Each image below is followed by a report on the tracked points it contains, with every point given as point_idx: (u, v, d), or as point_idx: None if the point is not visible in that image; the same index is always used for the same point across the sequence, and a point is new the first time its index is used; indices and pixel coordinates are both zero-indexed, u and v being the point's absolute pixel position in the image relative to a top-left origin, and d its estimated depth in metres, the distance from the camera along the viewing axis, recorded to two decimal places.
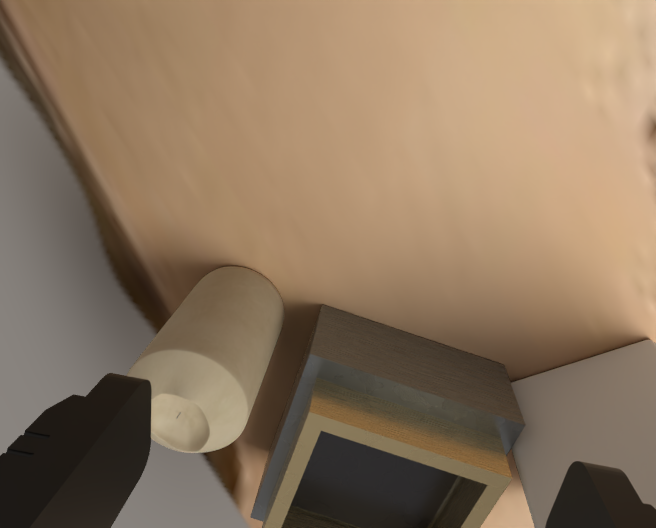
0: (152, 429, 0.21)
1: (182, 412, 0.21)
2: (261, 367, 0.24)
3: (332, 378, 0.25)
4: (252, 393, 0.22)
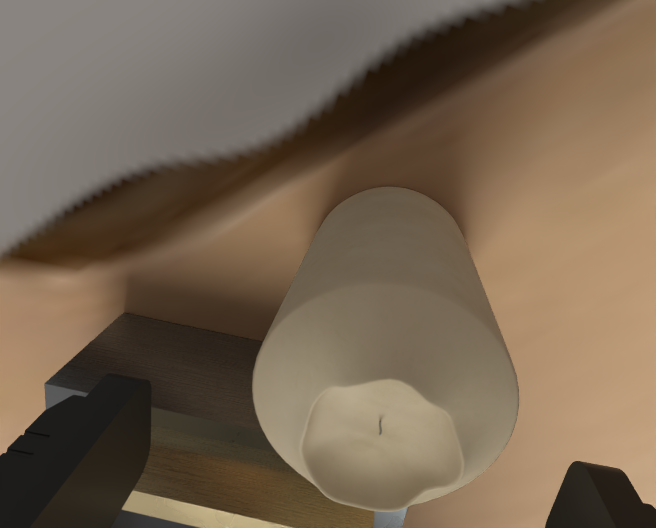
0: None
1: (381, 425, 0.10)
2: None
3: None
4: None
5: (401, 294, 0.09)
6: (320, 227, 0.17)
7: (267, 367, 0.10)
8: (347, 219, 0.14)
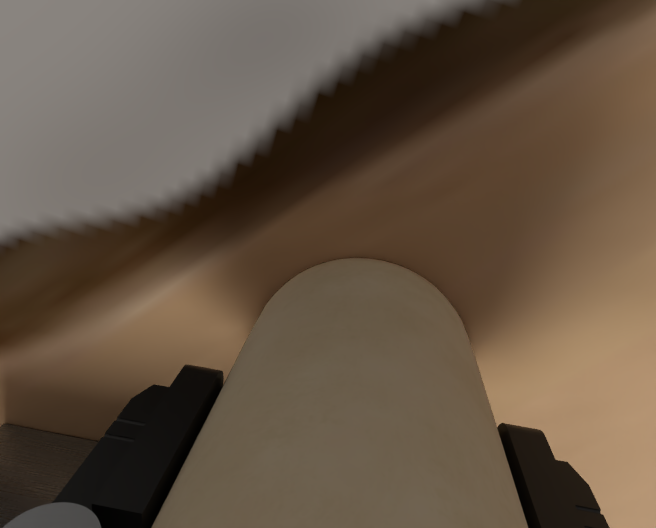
0: None
1: None
2: None
3: None
4: None
5: None
6: (255, 325, 0.11)
7: None
8: (282, 337, 0.09)
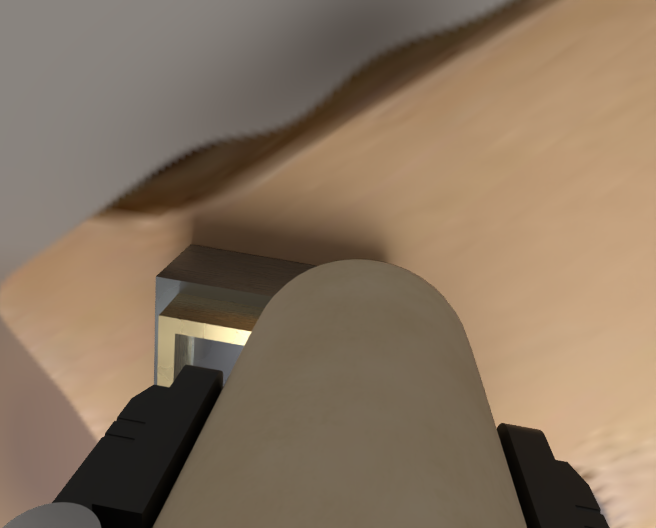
0: None
1: None
2: None
3: None
4: None
5: None
6: (255, 326, 0.11)
7: None
8: (282, 338, 0.09)
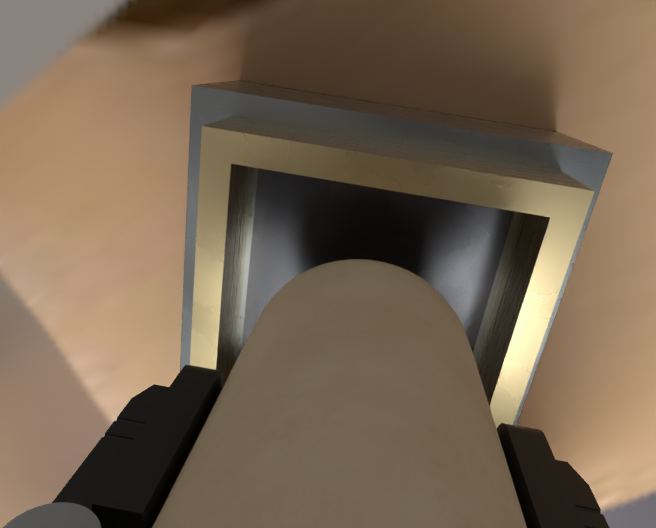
0: None
1: None
2: None
3: None
4: None
5: None
6: (254, 326, 0.11)
7: None
8: (282, 338, 0.09)
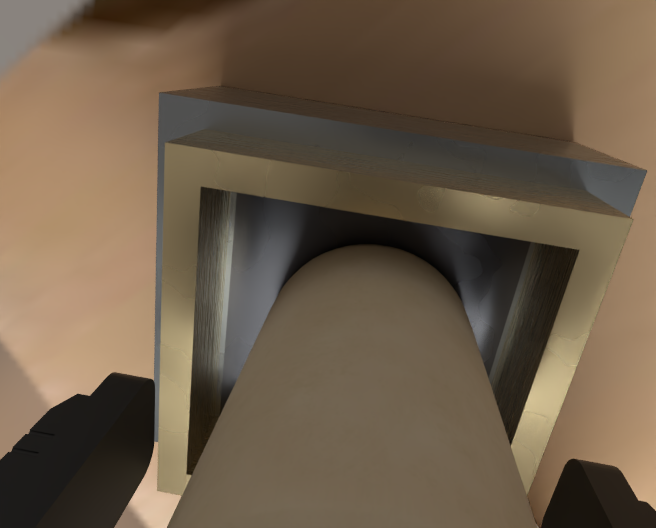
0: None
1: None
2: None
3: None
4: None
5: None
6: (273, 305, 0.12)
7: None
8: (302, 310, 0.10)
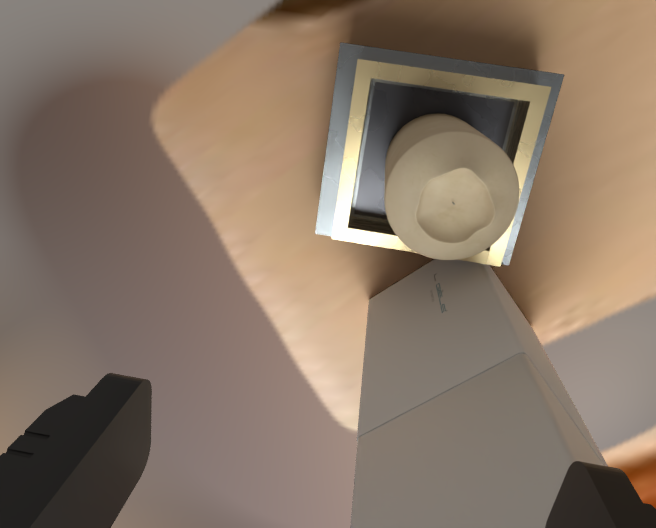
0: (433, 179, 0.20)
1: (453, 203, 0.21)
2: None
3: None
4: None
5: (462, 135, 0.20)
6: (394, 138, 0.27)
7: (395, 180, 0.21)
8: (417, 124, 0.25)
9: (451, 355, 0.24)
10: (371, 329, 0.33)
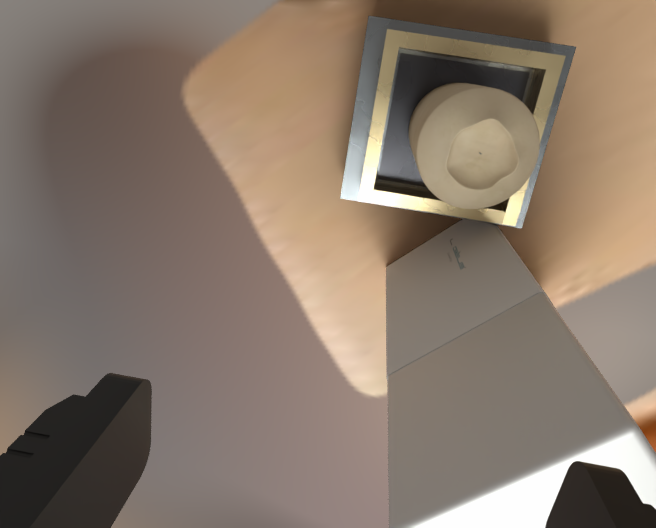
0: (463, 130, 0.22)
1: (480, 154, 0.23)
2: None
3: None
4: None
5: (488, 91, 0.22)
6: (418, 105, 0.29)
7: (427, 133, 0.23)
8: (442, 89, 0.27)
9: (473, 302, 0.27)
10: (391, 290, 0.35)
